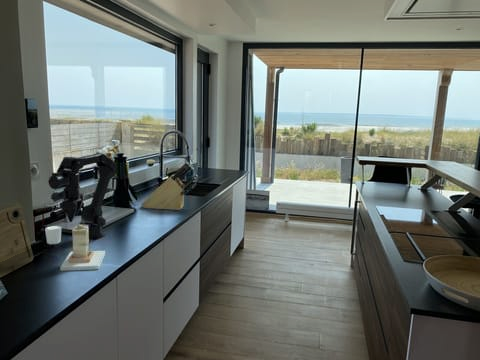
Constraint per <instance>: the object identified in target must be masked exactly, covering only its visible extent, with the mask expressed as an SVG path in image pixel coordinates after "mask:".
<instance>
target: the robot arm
mask: <svg viewBox="0 0 480 360" xmlns="http://www.w3.org/2000/svg"><path fill="white" fill-rule="evenodd" d="M92 164H96V166H97V168H98V175H99V178H98V180H97V181H98V182H97V185H96V187H95V190H94V193H93V196H92V199H91V202H90V204H89V205H88V206H84V209H83V212H82V220H83V223H84V225H85V226H88V235H89V239H90V240H91V239H93V240H99V239H100V238H103V237H105V236H106V234H103V227H105V226H106V222H107V220H106V219H105V218H104V217H103V207H102V205H103V202H104V200H105V196H106V194H107V190H108V187H109V185H110V180H111V179H112V178H113V177H115V175H116V173H117V171H118V168H119V166H118V165H117V163H116V162H115V161H114V160H113V159H111V158H110V157H108V156H107V155H106V154H105V153H99V152H96V153H92V154H88V155H83V156H64V157H63V158H62V160H61V162H60V164H59V166H58V168H57V170H56V172H52V173H51V176H50V177H48V178H49V179H48V182H47V183H48V186H49V187H50V188H51V189H52V190H58V189H62V188H63V189H62V190H60V191H58V192H57V191H56V192H52V193H51V194H50V200H52V201H53V203H55V202H57V201H61V200H62V201H61V202H60V203H59V208H60V209H61V210H62V211H65V213H66V216H67V219H68V221H69V223H72V222H73V220H74V218H75V217H77V216H78V215H79V212H80V210H81V207H82V205H83V202H84V199H85V194H84V193H83V192H80V189H81V186H80V175H83V172H82V171H81V170H82V169H83V168H84V167H85V166H87V165H89V166H90V165H92Z"/></svg>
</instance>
